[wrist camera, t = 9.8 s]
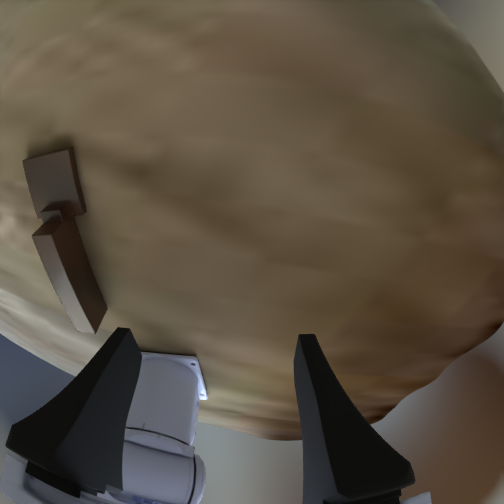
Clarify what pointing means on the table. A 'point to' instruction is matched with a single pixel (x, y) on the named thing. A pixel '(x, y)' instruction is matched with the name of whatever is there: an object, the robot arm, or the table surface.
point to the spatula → (64, 236)
